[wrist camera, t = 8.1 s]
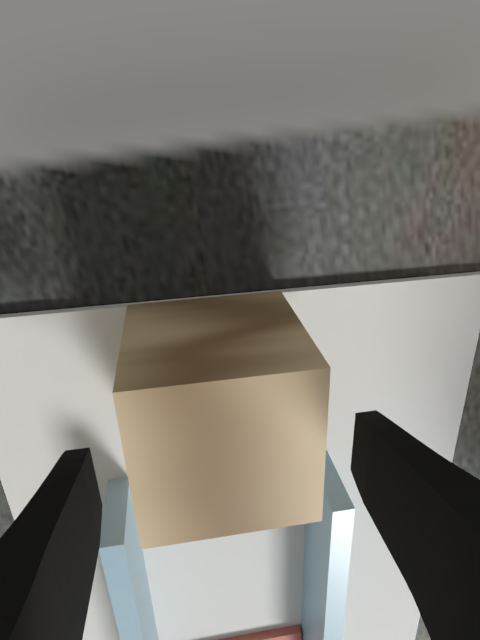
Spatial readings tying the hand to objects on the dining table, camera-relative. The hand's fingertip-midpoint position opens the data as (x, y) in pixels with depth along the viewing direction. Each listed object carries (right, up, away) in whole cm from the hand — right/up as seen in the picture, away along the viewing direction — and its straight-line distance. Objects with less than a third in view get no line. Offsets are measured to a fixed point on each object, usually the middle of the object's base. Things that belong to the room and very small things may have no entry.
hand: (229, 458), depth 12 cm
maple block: (-1, +2, +4) cm, 4 cm away
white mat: (+1, -6, +8) cm, 10 cm away
